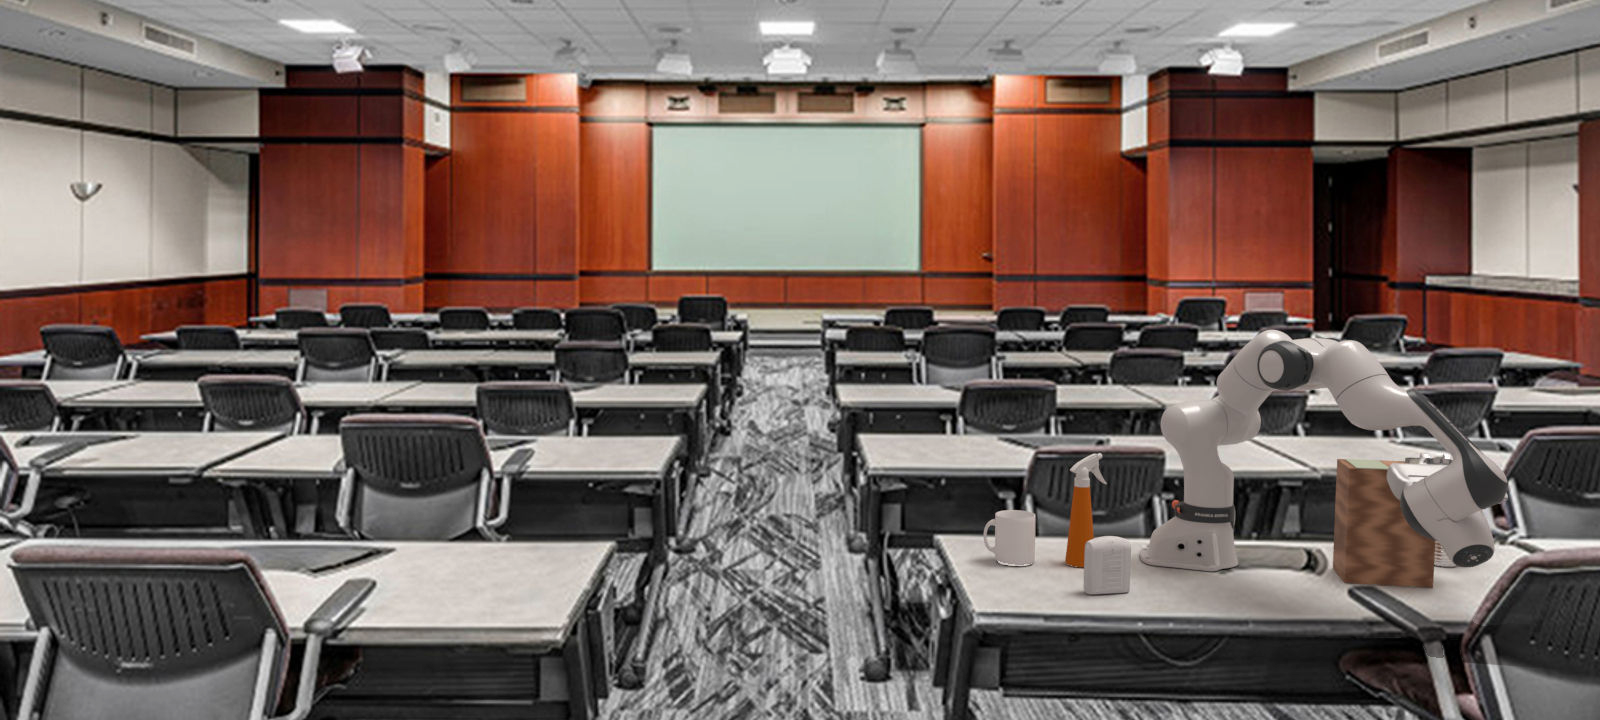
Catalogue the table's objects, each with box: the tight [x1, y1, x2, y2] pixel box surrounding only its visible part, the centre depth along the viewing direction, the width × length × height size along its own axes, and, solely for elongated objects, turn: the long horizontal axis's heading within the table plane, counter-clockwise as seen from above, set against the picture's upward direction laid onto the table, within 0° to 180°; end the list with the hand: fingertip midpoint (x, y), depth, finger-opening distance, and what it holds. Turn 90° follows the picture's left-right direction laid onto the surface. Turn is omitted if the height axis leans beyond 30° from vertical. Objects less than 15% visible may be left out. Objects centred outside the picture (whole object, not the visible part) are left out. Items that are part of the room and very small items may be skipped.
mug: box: [983, 509, 1036, 565], centre depth 273 cm, size 10×12×12 cm
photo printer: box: [1083, 535, 1132, 595], centre depth 248 cm, size 10×4×12 cm, turn 103°
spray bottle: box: [1064, 452, 1108, 567], centre depth 271 cm, size 7×11×26 cm, turn 116°
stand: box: [1332, 458, 1435, 589], centre depth 258 cm, size 18×12×26 cm, turn 77°
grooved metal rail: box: [1404, 457, 1449, 465], centre depth 241 cm, size 20×3×3 cm, turn 167°
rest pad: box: [1344, 458, 1388, 470], centre depth 257 cm, size 7×11×1 cm, turn 167°
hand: (1434, 455), depth 236 cm, fingers closed on grooved metal rail, 3 cm apart
